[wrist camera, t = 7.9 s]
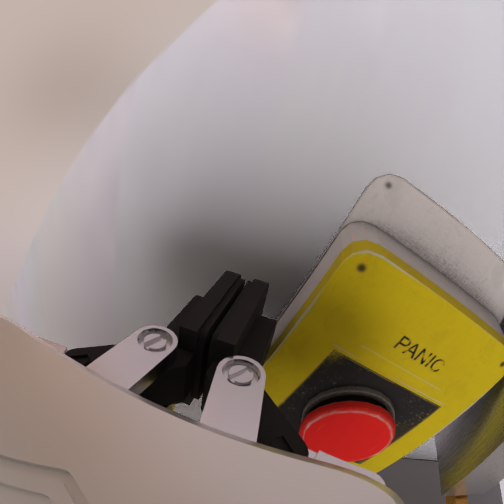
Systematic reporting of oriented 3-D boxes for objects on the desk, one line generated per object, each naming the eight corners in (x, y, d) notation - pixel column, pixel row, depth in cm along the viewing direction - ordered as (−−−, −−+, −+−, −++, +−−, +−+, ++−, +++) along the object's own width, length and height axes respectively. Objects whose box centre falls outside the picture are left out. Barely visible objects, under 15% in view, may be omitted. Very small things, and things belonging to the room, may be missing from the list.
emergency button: (188, 450, 13) (401, 174, 7) (217, 395, 17) (379, 161, 11) (335, 511, 13) (570, 334, 6) (343, 456, 17) (526, 284, 10)
